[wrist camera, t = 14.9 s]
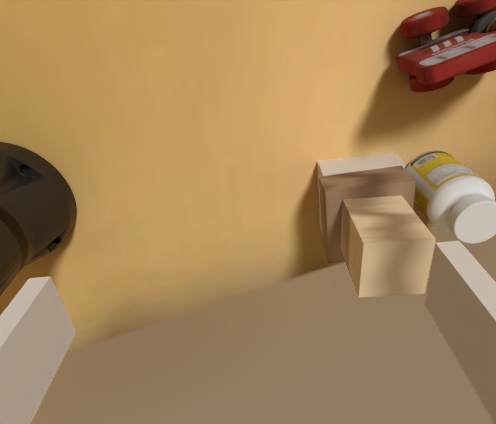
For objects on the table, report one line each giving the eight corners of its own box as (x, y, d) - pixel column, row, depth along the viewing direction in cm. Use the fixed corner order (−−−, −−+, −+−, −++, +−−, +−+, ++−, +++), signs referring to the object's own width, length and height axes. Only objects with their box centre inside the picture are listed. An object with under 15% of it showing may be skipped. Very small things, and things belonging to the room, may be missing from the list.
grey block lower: (319, 223, 50) (324, 240, 46) (316, 159, 45) (322, 173, 42) (388, 215, 49) (399, 232, 46) (392, 150, 45) (405, 163, 41)
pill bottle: (422, 206, 48) (469, 262, 38) (389, 177, 46) (429, 228, 36) (466, 170, 45) (529, 219, 35) (433, 137, 43) (489, 179, 33)
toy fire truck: (511, 51, 39) (591, 67, 30) (391, 93, 41) (432, 120, 32) (510, -24, 36) (600, -31, 27) (379, 26, 38) (421, 35, 29)
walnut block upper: (323, 242, 46) (329, 262, 43) (318, 176, 42) (325, 192, 38) (397, 233, 46) (410, 253, 42) (401, 165, 41) (415, 180, 38)
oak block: (340, 247, 42) (358, 297, 35) (342, 199, 39) (363, 243, 32) (394, 243, 41) (424, 293, 35) (401, 195, 39) (435, 239, 32)
